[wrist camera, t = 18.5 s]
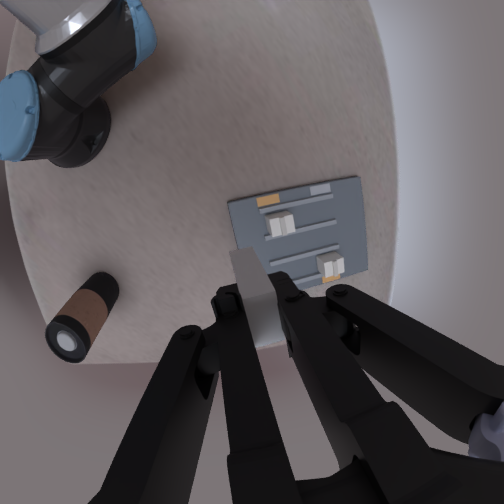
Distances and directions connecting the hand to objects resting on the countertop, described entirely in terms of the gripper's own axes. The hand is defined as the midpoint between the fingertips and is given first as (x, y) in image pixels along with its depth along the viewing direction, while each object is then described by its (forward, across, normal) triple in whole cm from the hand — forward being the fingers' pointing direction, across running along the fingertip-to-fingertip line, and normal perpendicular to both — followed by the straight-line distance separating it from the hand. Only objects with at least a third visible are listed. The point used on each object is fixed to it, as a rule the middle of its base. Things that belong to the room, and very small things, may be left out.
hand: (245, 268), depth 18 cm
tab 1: (+30, +9, -5) cm, 32 cm away
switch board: (+32, +14, -10) cm, 37 cm away
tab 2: (+30, +17, -15) cm, 38 cm away
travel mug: (+33, -28, -10) cm, 44 cm away
